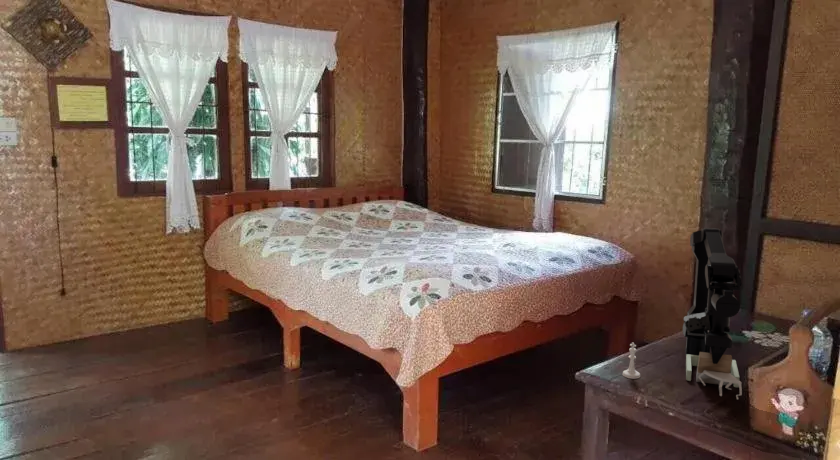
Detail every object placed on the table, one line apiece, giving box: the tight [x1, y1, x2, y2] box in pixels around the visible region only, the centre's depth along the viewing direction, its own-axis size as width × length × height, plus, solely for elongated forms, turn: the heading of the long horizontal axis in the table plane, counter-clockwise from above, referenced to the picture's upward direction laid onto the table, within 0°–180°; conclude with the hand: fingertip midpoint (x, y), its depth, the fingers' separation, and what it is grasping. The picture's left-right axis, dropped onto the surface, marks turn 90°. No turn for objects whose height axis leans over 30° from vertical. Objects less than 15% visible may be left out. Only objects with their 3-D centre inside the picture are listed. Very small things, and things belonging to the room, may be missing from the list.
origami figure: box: [698, 370, 743, 400], centre depth 170 cm, size 12×8×5 cm
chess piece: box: [622, 342, 641, 380], centre depth 181 cm, size 5×5×10 cm
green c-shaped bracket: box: [685, 354, 740, 388], centre depth 181 cm, size 13×14×3 cm
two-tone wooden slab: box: [695, 352, 733, 386], centre depth 173 cm, size 8×2×10 cm
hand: (714, 361), depth 171 cm, fingers closed on two-tone wooden slab, 3 cm apart
